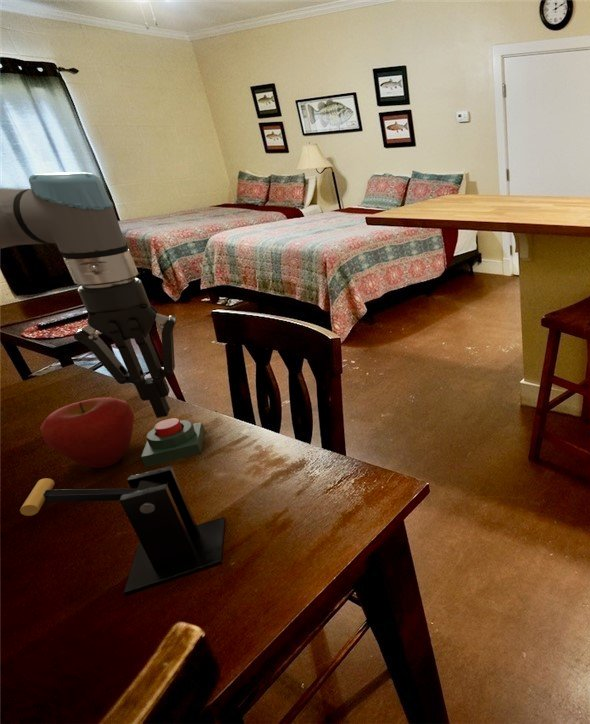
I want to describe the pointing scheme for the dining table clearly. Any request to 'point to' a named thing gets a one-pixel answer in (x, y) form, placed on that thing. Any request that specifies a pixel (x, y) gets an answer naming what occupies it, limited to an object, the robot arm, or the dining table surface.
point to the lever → (76, 494)
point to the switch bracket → (168, 533)
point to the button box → (174, 444)
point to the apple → (91, 431)
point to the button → (168, 427)
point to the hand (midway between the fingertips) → (163, 413)
